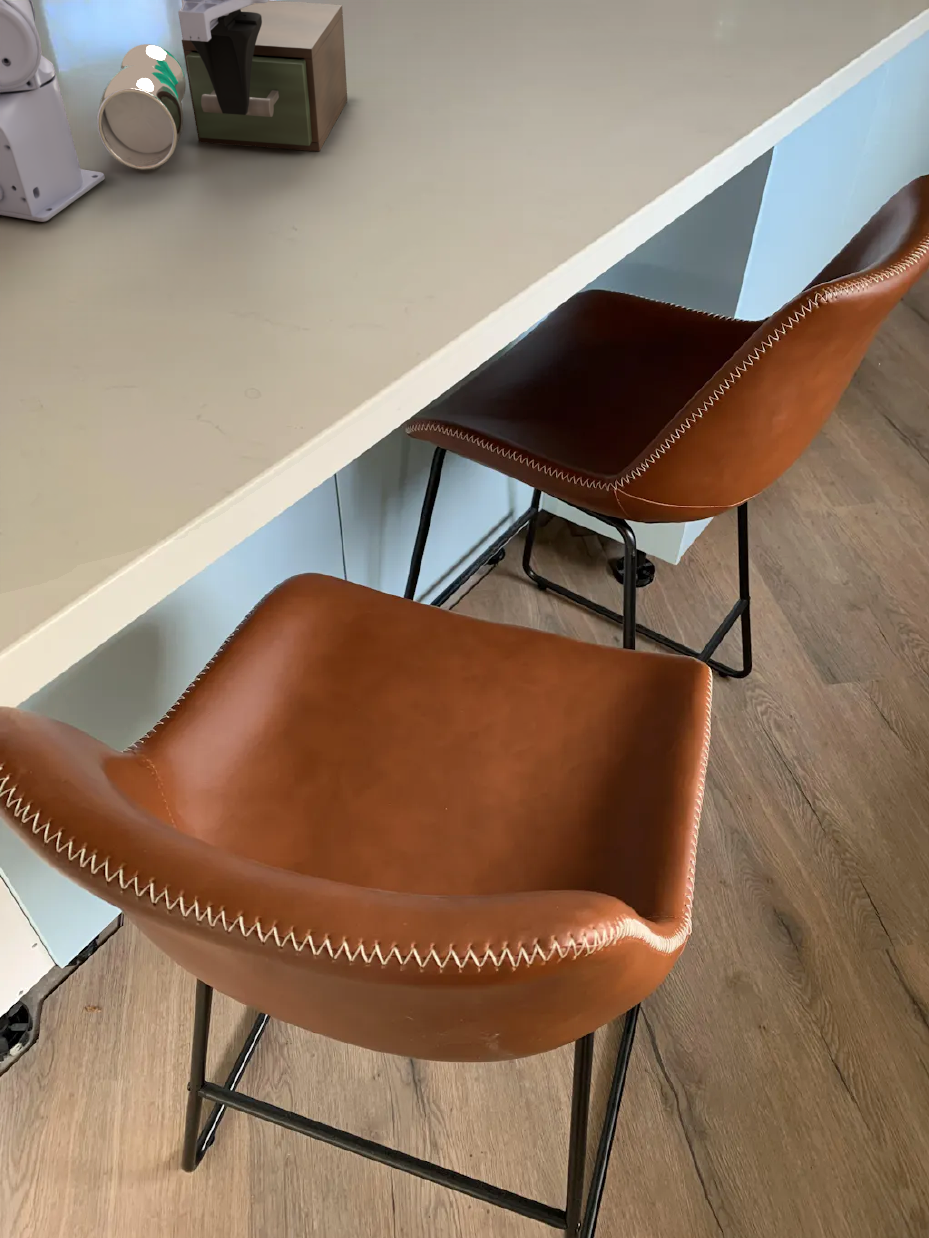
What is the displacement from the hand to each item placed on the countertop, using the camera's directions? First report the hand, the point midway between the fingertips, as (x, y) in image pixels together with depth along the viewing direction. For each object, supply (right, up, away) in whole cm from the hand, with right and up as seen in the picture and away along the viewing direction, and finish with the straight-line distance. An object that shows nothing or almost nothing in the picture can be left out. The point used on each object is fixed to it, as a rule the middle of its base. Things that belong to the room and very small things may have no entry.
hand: (235, 112), depth 82 cm
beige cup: (-11, +9, +10) cm, 17 cm away
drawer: (+1, +3, +9) cm, 9 cm away
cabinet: (+1, +6, +12) cm, 13 cm away
